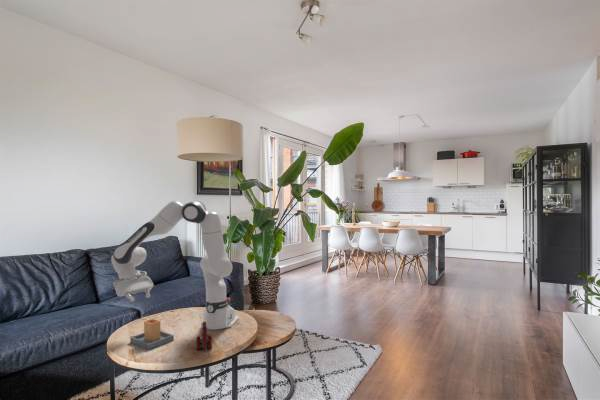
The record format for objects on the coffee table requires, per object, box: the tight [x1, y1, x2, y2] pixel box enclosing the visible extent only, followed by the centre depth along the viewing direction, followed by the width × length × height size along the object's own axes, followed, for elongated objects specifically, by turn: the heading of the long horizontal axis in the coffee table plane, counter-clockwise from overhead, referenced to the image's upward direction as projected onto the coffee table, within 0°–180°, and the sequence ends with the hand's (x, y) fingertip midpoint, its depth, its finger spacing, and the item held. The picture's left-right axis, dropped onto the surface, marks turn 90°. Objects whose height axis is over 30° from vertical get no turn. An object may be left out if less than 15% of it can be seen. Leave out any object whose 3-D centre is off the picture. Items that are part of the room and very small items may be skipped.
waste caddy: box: [143, 318, 161, 342], centre depth 173 cm, size 6×5×9 cm
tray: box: [130, 329, 175, 351], centre depth 173 cm, size 16×14×2 cm
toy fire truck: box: [196, 322, 213, 351], centre depth 167 cm, size 7×12×10 cm, turn 16°
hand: (141, 298), depth 181 cm, fingers open, 8 cm apart
